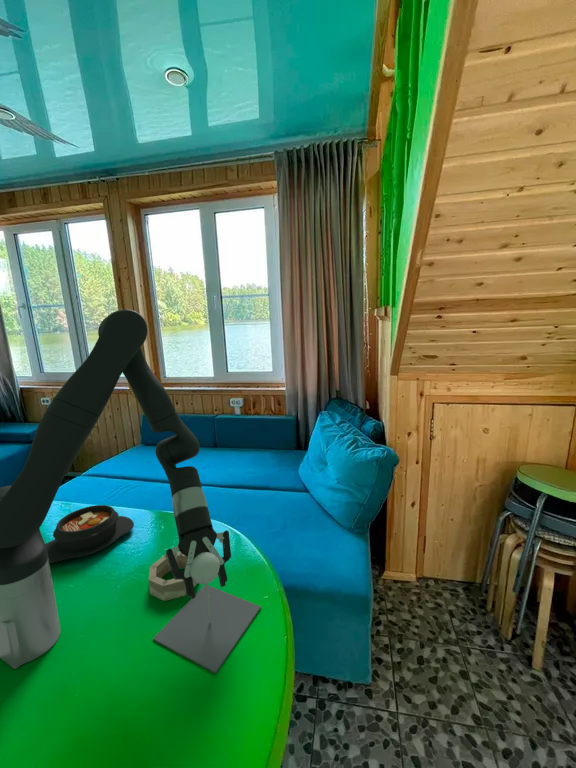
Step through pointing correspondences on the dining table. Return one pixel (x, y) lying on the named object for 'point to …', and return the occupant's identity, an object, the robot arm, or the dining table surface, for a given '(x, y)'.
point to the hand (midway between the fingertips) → (208, 591)
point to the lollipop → (205, 571)
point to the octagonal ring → (169, 587)
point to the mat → (208, 627)
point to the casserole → (86, 532)
